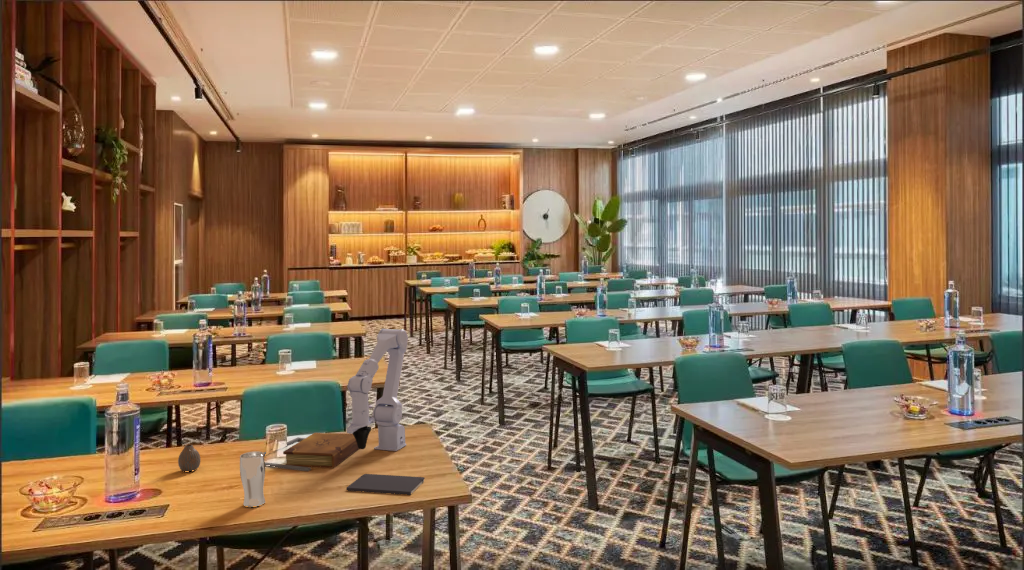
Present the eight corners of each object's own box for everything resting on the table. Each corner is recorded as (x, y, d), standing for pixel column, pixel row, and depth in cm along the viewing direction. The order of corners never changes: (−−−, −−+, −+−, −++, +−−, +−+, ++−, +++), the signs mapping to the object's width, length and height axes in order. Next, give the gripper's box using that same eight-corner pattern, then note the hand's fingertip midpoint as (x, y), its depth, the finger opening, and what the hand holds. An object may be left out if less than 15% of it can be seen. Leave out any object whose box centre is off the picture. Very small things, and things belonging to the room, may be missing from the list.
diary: (334, 470, 235) (333, 453, 234) (284, 468, 239) (283, 451, 238) (361, 448, 257) (361, 433, 257) (315, 447, 261) (314, 432, 261)
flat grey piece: (357, 445, 260) (357, 443, 260) (308, 471, 232) (308, 468, 232) (297, 439, 270) (297, 437, 270) (243, 463, 242) (243, 461, 242)
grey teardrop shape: (175, 471, 236) (173, 446, 236) (195, 465, 241) (194, 441, 241) (183, 475, 231) (182, 449, 231) (204, 470, 236) (203, 445, 236)
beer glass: (258, 509, 200) (255, 458, 199) (237, 508, 202) (234, 458, 201) (271, 500, 207) (268, 451, 206) (250, 499, 208) (247, 450, 207)
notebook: (346, 492, 214) (411, 496, 209) (346, 487, 213) (410, 491, 209) (364, 478, 226) (425, 482, 221) (364, 473, 226) (425, 477, 221)
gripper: (362, 404, 249) (363, 441, 250) (338, 414, 236) (340, 453, 237) (379, 405, 247) (380, 443, 248) (356, 415, 233) (357, 455, 234)
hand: (361, 448), depth 242 cm, fingers closed
